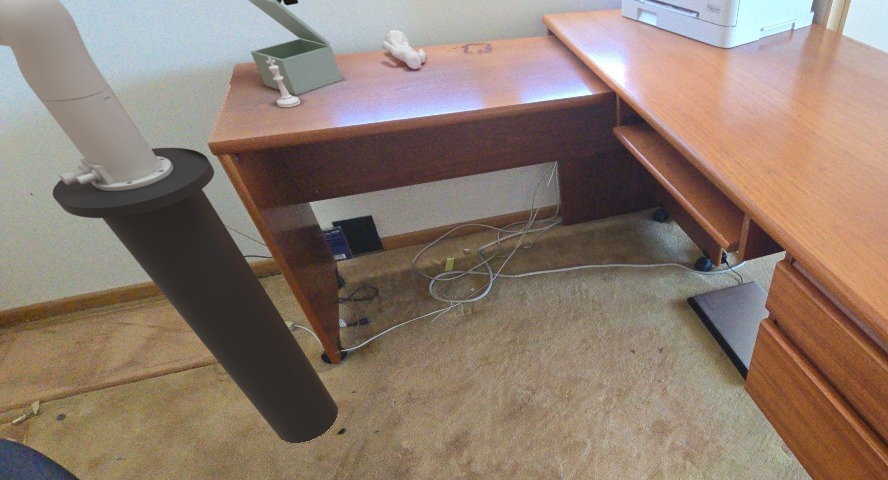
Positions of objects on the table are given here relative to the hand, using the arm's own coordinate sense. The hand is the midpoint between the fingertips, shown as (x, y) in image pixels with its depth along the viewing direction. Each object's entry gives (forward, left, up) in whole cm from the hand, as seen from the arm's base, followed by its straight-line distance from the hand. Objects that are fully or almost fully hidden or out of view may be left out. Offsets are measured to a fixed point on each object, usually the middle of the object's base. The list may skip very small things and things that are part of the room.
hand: (281, 1), depth 121 cm
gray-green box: (-2, 0, -17) cm, 18 cm away
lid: (-1, 0, -4) cm, 4 cm away
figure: (+25, -8, -17) cm, 31 cm away
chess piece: (-13, -9, -18) cm, 24 cm away
